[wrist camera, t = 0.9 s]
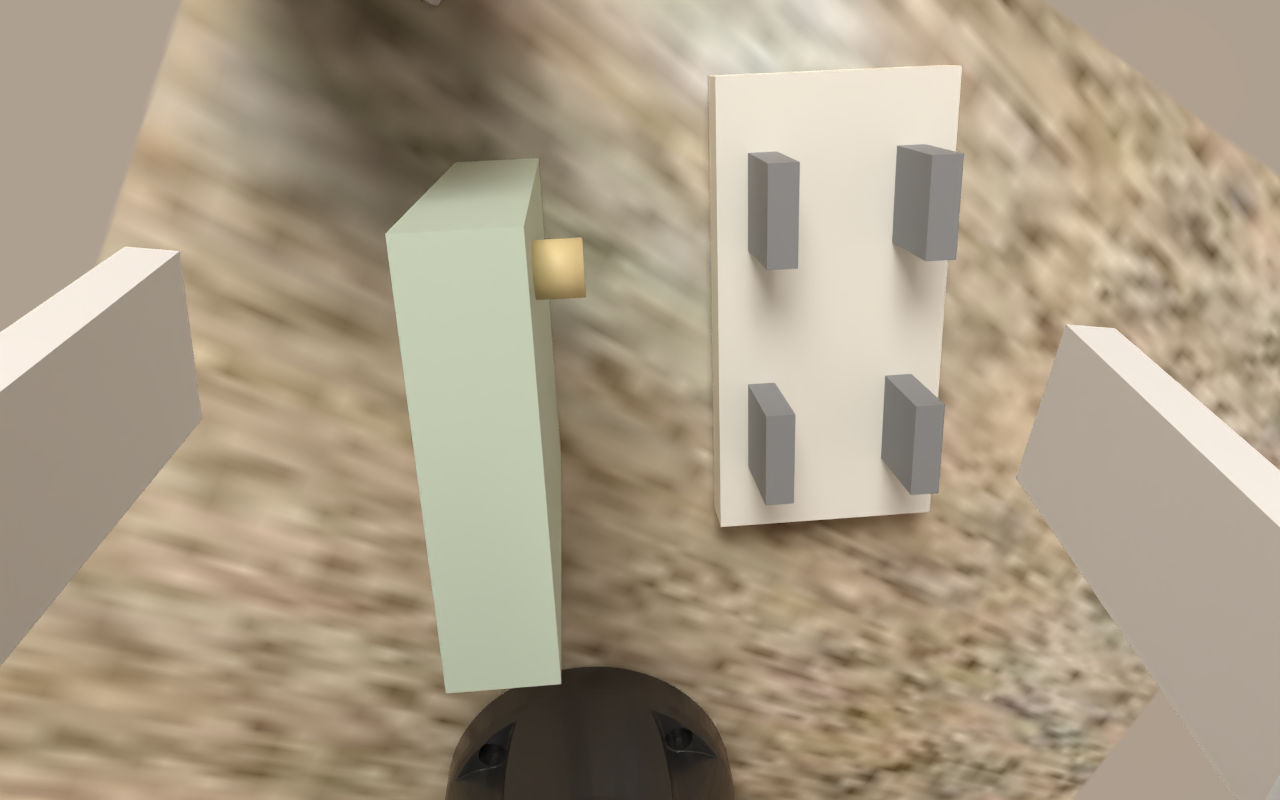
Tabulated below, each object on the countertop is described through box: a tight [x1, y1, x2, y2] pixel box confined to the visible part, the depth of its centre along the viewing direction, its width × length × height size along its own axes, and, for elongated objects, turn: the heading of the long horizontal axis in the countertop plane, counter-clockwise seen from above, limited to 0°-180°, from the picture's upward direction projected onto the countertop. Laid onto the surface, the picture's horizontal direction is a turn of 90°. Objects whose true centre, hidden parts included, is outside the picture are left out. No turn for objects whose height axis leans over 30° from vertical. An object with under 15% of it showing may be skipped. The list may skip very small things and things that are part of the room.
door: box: [385, 158, 586, 693], centre depth 35 cm, size 14×5×17 cm, turn 2°
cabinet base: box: [708, 65, 964, 527], centre depth 41 cm, size 20×10×6 cm, turn 2°
